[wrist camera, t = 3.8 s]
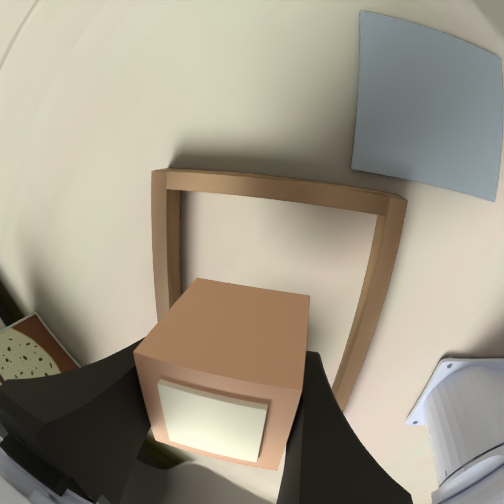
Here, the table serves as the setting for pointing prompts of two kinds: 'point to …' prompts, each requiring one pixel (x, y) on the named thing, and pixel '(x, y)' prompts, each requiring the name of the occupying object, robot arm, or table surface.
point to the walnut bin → (287, 189)
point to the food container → (32, 351)
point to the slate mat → (428, 107)
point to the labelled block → (226, 371)
